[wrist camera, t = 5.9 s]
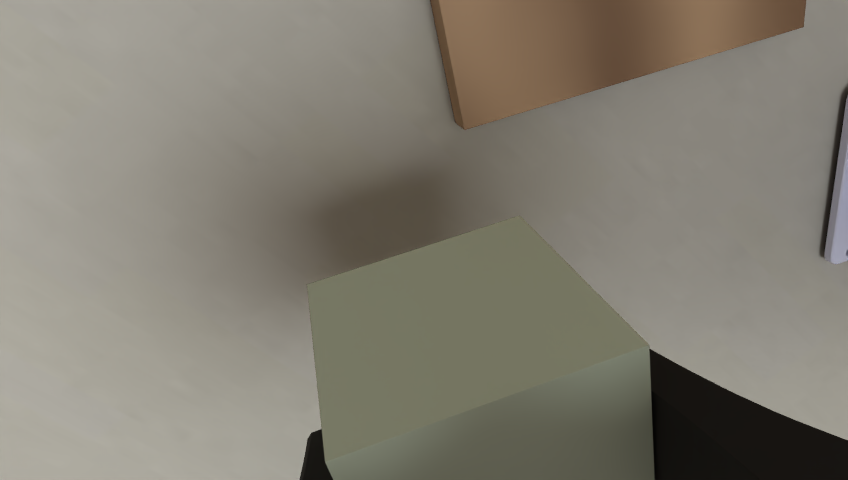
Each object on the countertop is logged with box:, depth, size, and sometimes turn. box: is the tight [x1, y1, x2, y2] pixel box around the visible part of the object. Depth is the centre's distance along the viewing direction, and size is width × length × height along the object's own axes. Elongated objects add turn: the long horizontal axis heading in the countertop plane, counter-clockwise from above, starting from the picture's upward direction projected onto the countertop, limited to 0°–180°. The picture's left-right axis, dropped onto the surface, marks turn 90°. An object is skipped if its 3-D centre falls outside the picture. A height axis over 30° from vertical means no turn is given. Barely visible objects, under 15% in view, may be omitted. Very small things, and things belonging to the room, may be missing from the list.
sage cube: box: [307, 216, 655, 480], centre depth 11 cm, size 5×5×5 cm
